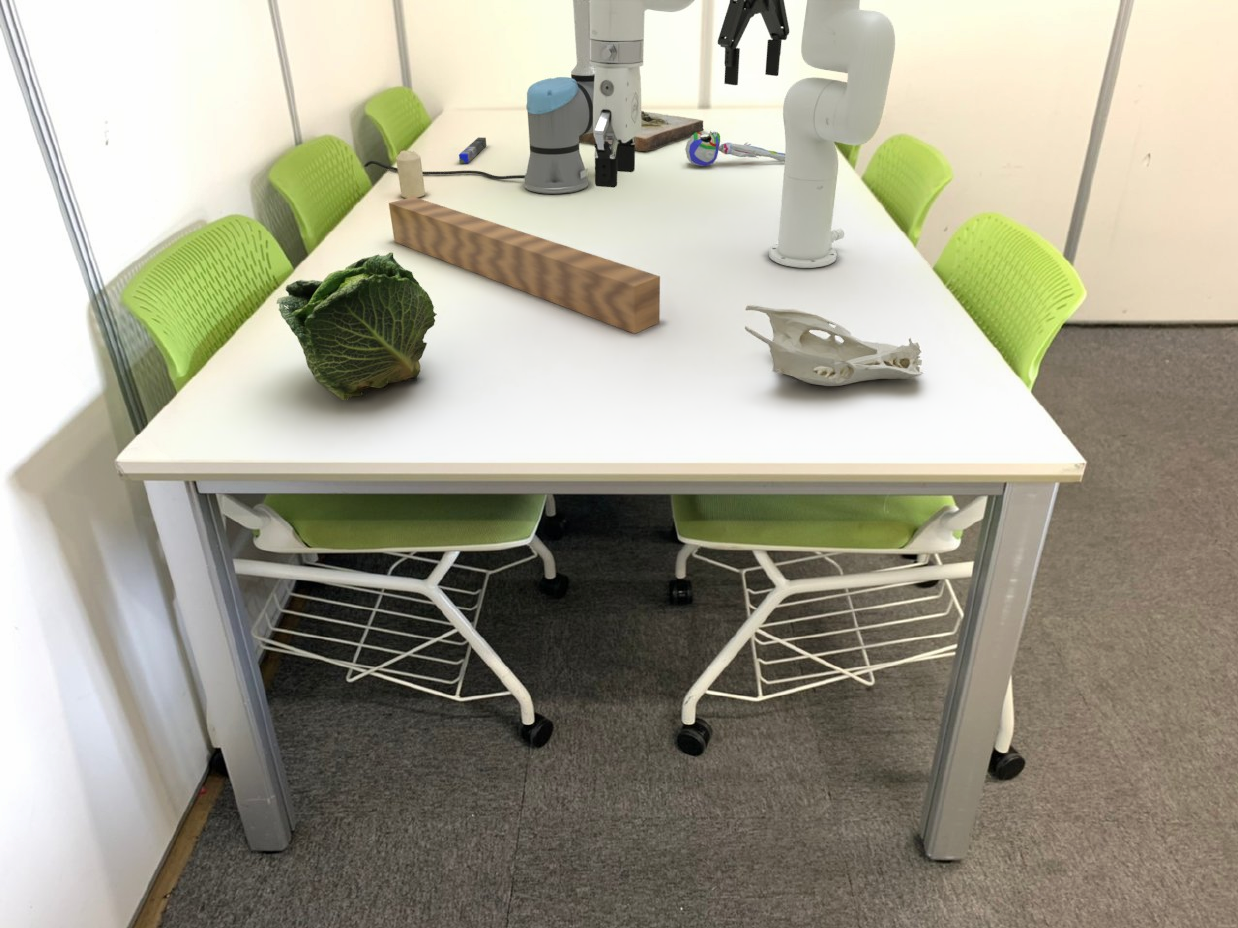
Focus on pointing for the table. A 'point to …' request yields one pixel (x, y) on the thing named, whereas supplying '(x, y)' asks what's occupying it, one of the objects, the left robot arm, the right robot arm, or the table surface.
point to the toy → (721, 149)
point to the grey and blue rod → (472, 150)
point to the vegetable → (360, 325)
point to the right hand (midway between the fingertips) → (615, 178)
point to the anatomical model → (832, 351)
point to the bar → (530, 264)
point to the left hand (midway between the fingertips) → (751, 80)
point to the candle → (410, 174)
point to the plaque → (658, 131)
